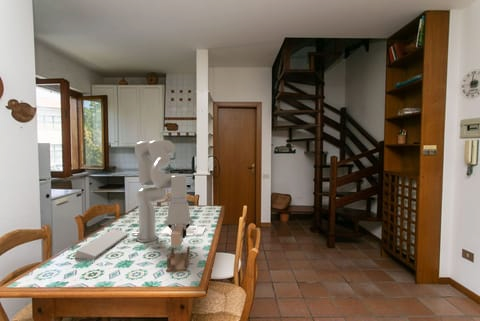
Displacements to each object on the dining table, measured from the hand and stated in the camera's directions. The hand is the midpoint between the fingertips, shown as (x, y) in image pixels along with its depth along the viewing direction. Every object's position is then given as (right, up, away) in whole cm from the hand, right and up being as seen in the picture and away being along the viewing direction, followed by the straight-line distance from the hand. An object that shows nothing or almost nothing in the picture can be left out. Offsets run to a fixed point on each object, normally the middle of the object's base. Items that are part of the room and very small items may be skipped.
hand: (179, 237), depth 123 cm
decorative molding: (-48, -12, +21) cm, 54 cm away
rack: (0, -13, +1) cm, 13 cm away
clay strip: (0, -1, 0) cm, 1 cm away
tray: (-8, -11, +48) cm, 50 cm away
